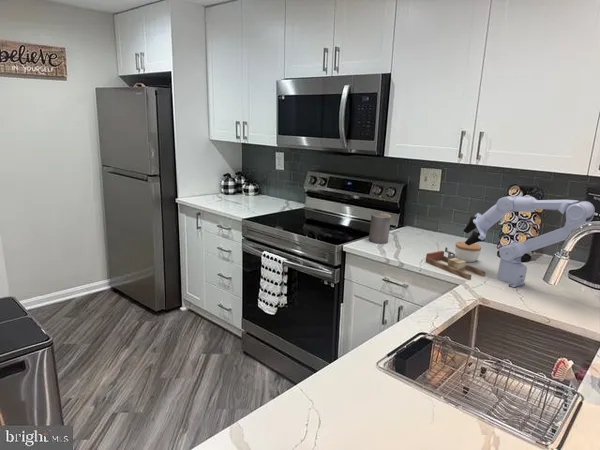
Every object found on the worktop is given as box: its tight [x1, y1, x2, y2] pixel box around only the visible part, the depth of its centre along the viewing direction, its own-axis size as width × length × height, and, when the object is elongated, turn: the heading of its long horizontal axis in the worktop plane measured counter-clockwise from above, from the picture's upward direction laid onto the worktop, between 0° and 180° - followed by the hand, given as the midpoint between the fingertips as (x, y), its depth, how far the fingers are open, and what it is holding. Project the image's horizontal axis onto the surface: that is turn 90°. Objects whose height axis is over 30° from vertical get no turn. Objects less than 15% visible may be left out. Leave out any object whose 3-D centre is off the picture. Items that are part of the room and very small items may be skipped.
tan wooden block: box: [447, 257, 468, 272], centre depth 179 cm, size 5×5×4 cm
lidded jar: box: [454, 241, 482, 263], centre depth 192 cm, size 11×11×9 cm
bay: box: [425, 250, 486, 281], centre depth 180 cm, size 22×10×5 cm, turn 33°
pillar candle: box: [368, 212, 392, 245], centre depth 215 cm, size 10×10×15 cm
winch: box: [444, 247, 456, 259], centre depth 191 cm, size 5×3×6 cm, turn 33°
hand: (466, 237), depth 183 cm, fingers open, 7 cm apart
